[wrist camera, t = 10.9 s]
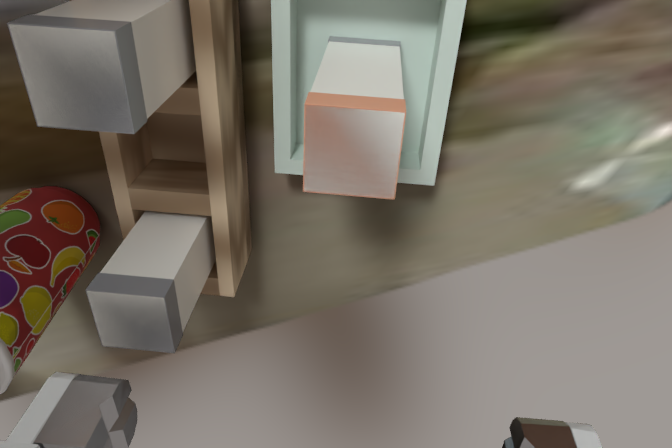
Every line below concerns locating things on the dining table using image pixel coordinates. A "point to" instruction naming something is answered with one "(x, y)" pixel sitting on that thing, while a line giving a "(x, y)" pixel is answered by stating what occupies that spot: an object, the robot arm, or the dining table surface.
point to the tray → (369, 23)
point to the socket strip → (194, 149)
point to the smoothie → (39, 265)
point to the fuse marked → (355, 120)
